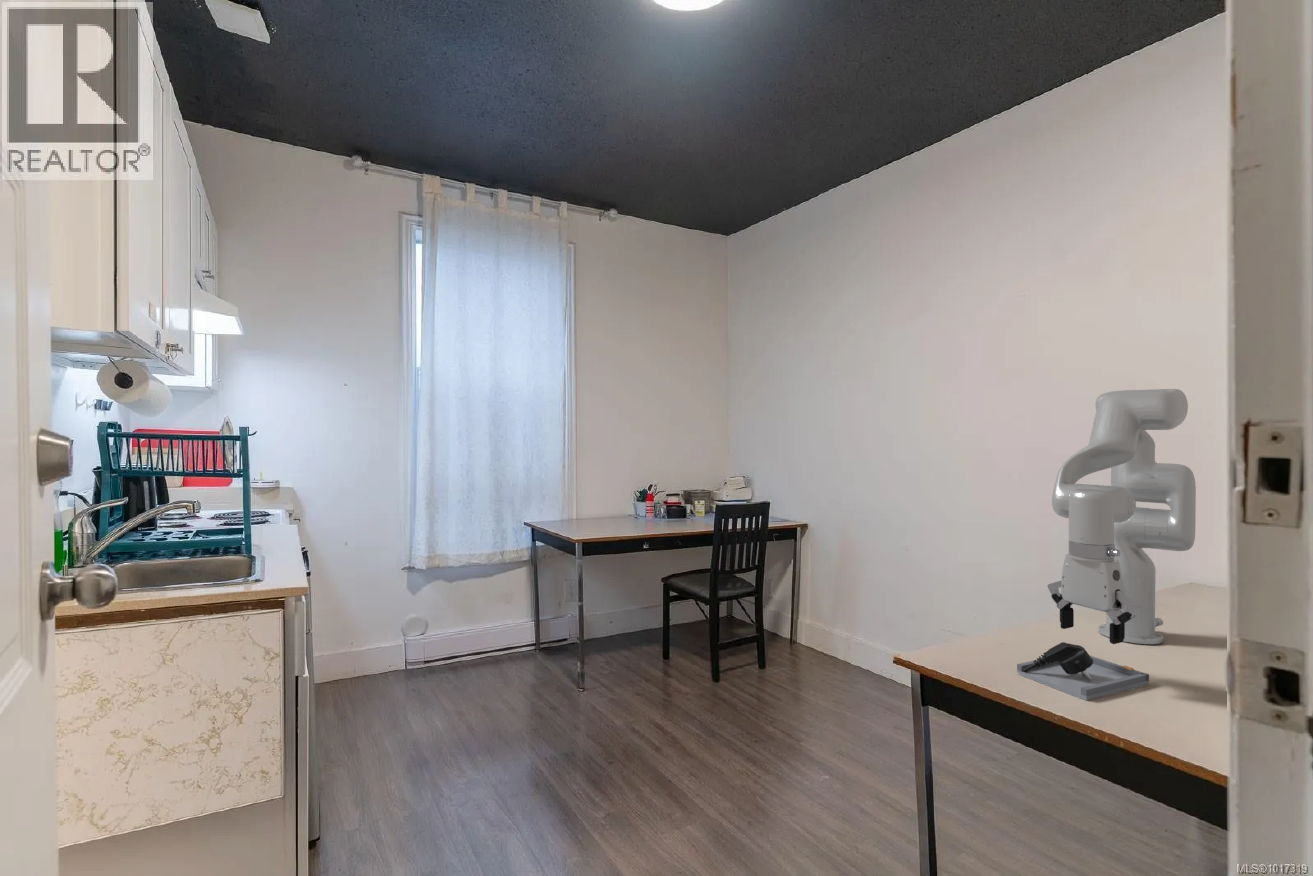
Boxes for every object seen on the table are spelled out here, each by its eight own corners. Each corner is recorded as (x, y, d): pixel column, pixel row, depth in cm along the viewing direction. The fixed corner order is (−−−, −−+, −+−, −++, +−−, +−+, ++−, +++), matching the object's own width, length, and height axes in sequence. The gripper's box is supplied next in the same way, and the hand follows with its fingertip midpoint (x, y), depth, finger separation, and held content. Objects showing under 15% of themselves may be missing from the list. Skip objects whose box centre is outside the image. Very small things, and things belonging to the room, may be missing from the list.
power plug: (1017, 662, 131) (1070, 633, 128) (1040, 694, 130) (1095, 665, 127) (1025, 672, 125) (1081, 642, 123) (1049, 705, 124) (1107, 676, 121)
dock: (1077, 660, 137) (1077, 650, 137) (1148, 684, 124) (1148, 673, 124) (1016, 673, 129) (1017, 662, 129) (1086, 700, 116) (1086, 688, 116)
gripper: (1150, 557, 119) (1150, 646, 120) (1061, 541, 135) (1061, 620, 136) (1125, 561, 116) (1125, 652, 117) (1037, 545, 132) (1037, 625, 133)
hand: (1090, 635), depth 126 cm, fingers open, 9 cm apart
